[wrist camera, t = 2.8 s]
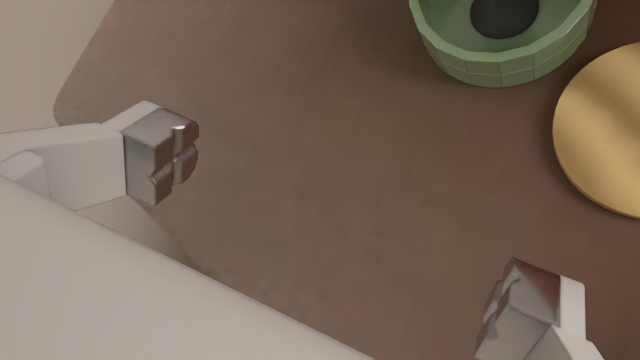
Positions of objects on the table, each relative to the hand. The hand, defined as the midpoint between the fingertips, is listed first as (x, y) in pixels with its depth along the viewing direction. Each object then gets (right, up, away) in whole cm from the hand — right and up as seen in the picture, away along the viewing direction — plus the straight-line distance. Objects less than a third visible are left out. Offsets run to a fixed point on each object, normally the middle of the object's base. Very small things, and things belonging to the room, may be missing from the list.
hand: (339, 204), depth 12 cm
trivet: (+21, +4, +21) cm, 30 cm away
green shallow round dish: (+14, +13, +27) cm, 33 cm away
